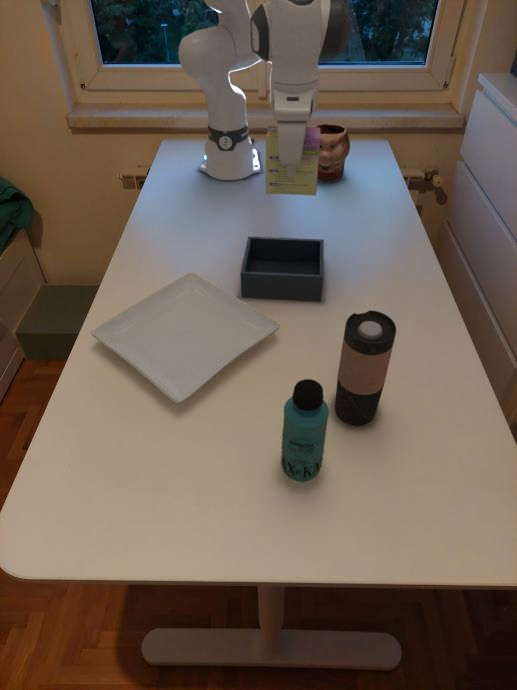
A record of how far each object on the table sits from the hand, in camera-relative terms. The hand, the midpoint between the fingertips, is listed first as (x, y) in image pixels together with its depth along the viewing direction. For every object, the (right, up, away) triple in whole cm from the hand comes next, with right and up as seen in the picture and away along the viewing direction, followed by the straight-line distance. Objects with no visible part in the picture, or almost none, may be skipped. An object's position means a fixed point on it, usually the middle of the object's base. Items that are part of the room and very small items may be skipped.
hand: (291, 167), depth 101 cm
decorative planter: (+14, +17, +53) cm, 58 cm away
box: (0, -3, +3) cm, 5 cm away
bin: (-1, -21, +15) cm, 25 cm away
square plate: (-21, -35, +1) cm, 41 cm away
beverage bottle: (0, -56, -21) cm, 60 cm away
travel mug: (+10, -47, -13) cm, 50 cm away
